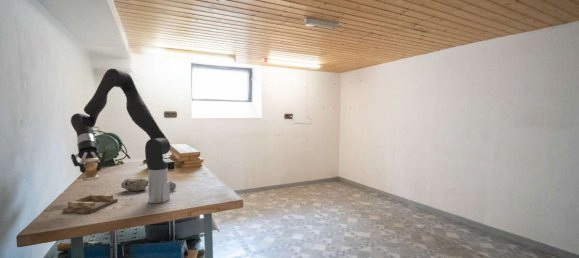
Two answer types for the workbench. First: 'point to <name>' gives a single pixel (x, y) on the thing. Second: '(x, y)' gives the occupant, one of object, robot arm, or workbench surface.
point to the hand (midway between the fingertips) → (91, 170)
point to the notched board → (89, 203)
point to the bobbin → (90, 169)
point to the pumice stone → (134, 184)
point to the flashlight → (172, 186)
